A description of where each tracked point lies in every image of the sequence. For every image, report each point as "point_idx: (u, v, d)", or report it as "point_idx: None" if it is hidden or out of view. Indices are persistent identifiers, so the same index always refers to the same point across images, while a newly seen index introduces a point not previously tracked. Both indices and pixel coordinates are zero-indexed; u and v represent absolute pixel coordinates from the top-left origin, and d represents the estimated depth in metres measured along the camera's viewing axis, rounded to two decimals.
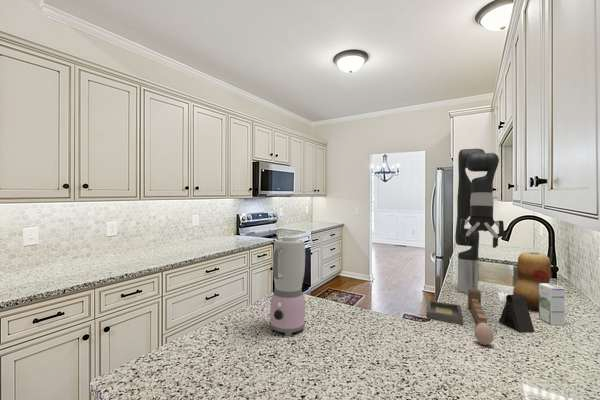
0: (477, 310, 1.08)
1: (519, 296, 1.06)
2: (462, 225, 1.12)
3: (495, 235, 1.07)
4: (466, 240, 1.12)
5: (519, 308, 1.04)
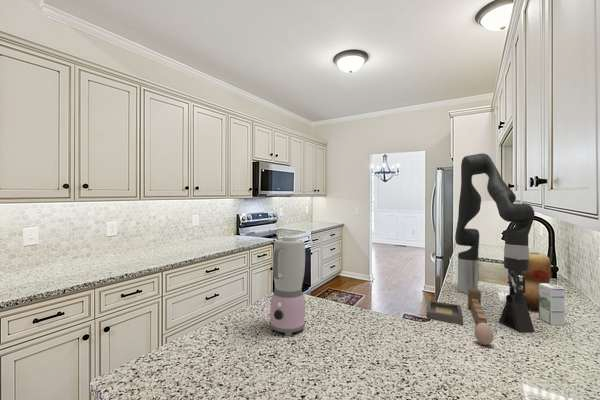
0: (477, 310, 1.08)
1: None
2: None
3: None
4: None
5: (519, 308, 1.04)
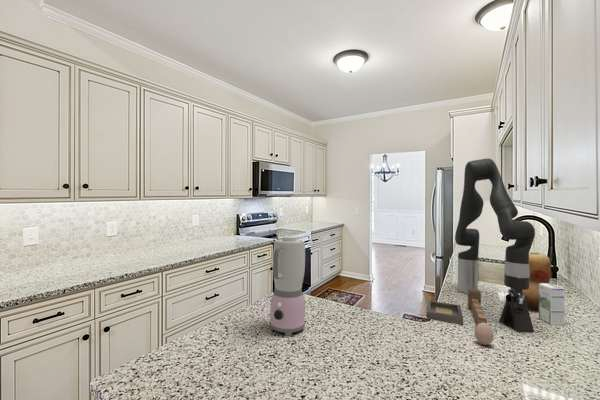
0: (477, 310, 1.08)
1: None
2: None
3: None
4: None
5: (518, 308, 1.04)
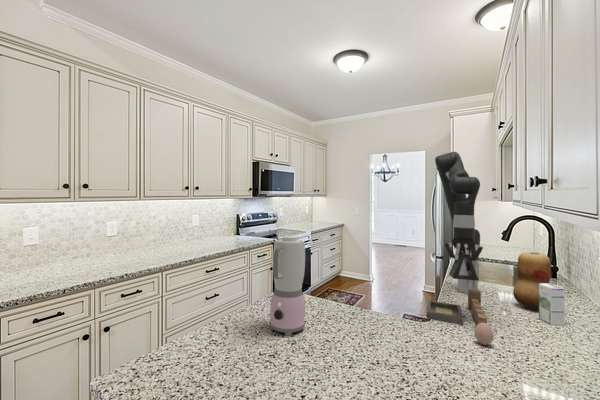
0: (477, 310, 1.08)
1: None
2: None
3: None
4: None
5: None
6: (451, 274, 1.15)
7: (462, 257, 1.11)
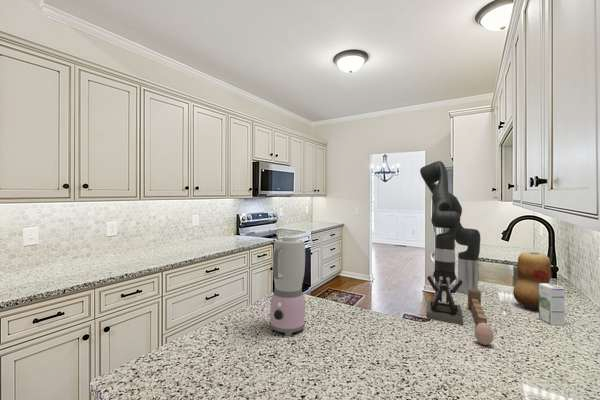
0: (477, 310, 1.08)
1: None
2: None
3: None
4: None
5: None
6: (432, 305, 1.19)
7: (440, 290, 1.15)
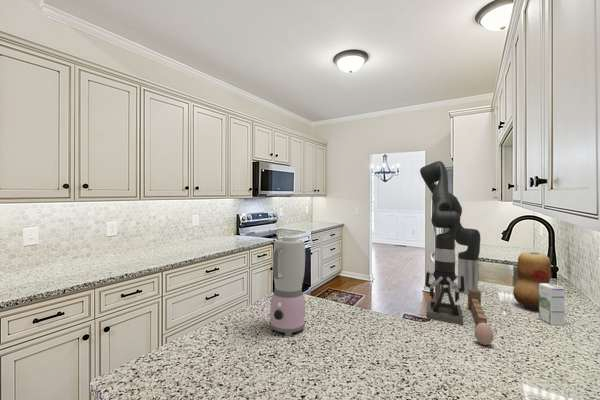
0: (477, 310, 1.08)
1: None
2: None
3: None
4: None
5: (450, 294, 1.15)
6: (433, 307, 1.18)
7: (442, 292, 1.14)
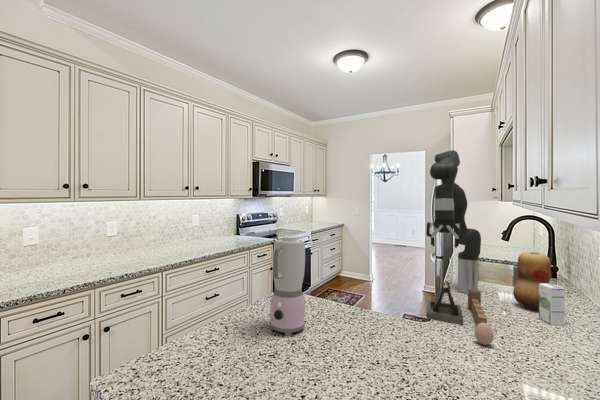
0: (477, 310, 1.08)
1: (448, 283, 1.16)
2: None
3: None
4: None
5: (450, 294, 1.15)
6: (433, 307, 1.18)
7: (442, 292, 1.14)
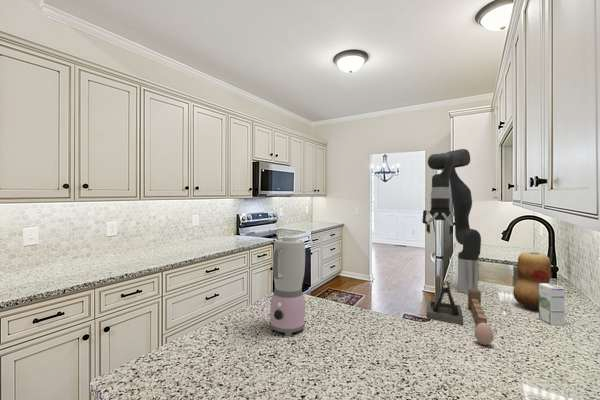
0: (477, 310, 1.08)
1: (448, 283, 1.16)
2: None
3: None
4: None
5: (450, 294, 1.15)
6: (433, 307, 1.18)
7: (442, 292, 1.14)
